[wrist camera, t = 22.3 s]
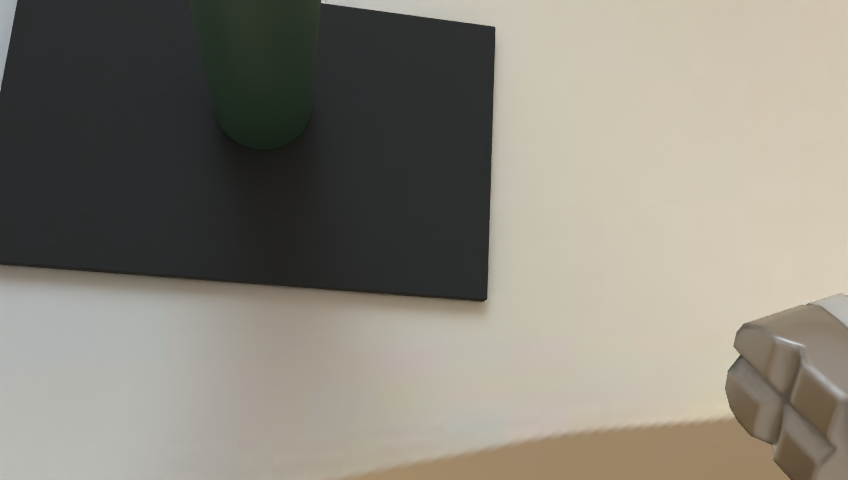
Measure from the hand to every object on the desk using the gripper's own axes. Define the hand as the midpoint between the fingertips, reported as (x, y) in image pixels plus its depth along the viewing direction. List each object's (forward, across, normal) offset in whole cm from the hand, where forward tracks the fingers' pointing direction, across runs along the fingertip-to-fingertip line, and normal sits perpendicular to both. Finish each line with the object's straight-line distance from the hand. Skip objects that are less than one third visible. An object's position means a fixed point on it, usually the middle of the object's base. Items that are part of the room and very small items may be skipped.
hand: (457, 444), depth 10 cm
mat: (+18, 0, +4) cm, 18 cm away
